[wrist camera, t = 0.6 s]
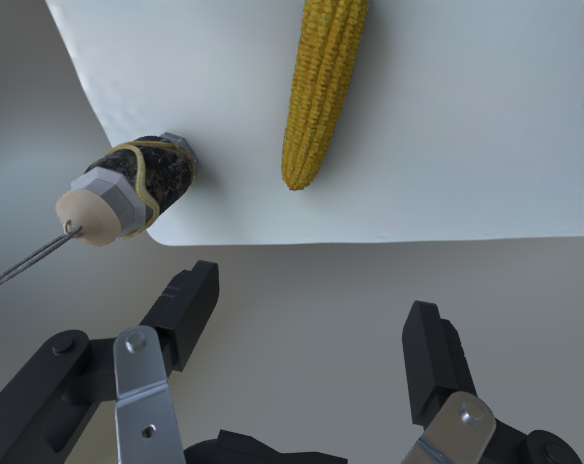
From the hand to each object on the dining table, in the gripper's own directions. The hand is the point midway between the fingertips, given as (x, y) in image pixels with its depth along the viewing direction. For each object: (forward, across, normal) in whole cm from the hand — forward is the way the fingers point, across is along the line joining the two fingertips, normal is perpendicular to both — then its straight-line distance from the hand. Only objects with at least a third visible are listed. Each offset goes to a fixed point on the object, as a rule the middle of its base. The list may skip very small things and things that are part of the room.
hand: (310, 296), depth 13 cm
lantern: (+27, +20, +7) cm, 35 cm away
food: (+28, +3, -3) cm, 29 cm away
